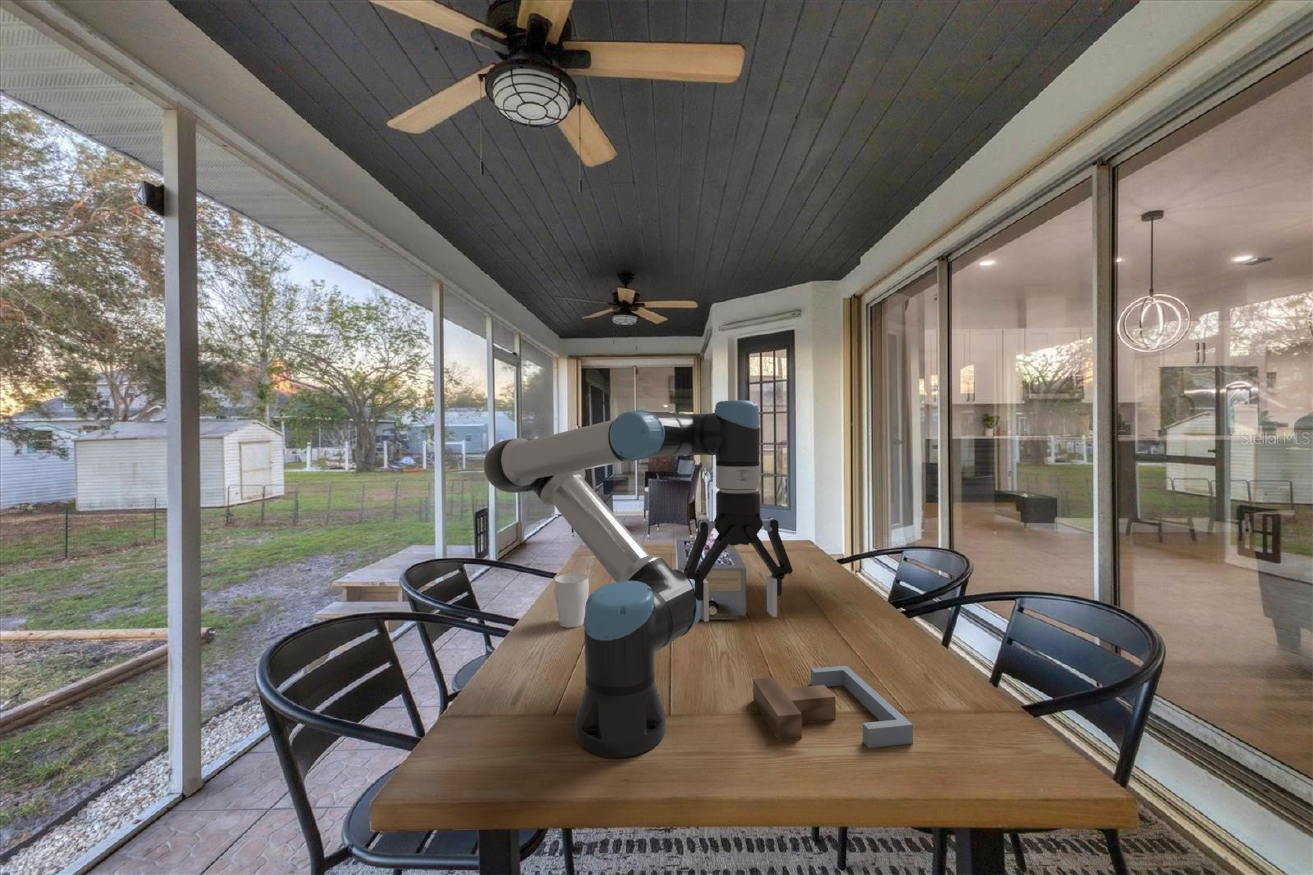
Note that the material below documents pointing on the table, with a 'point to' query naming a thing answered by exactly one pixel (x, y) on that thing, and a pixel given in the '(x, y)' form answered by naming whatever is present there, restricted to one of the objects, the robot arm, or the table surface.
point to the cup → (571, 599)
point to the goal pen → (868, 707)
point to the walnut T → (792, 706)
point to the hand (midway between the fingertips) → (738, 616)
